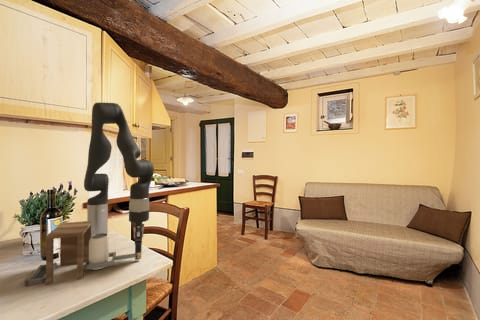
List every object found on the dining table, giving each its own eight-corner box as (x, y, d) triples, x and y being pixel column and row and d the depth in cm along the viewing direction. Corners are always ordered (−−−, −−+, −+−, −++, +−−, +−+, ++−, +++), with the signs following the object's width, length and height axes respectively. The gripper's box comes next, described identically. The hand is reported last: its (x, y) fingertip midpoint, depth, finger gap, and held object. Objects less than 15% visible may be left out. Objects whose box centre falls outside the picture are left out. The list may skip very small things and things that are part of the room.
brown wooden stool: (61, 264, 89) (61, 223, 89) (91, 260, 93) (91, 220, 93) (46, 284, 75) (46, 235, 74) (82, 278, 79) (82, 232, 78)
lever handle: (89, 260, 90) (90, 235, 90) (141, 253, 97) (141, 230, 97) (84, 271, 81) (84, 244, 81) (141, 262, 89) (141, 237, 89)
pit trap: (40, 269, 85) (40, 265, 85) (56, 266, 87) (56, 262, 87) (24, 286, 74) (24, 281, 74) (44, 282, 76) (44, 278, 76)
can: (101, 271, 84) (101, 238, 84) (84, 270, 84) (84, 238, 84) (112, 263, 90) (112, 233, 90) (96, 262, 91) (96, 232, 91)
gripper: (130, 205, 97) (129, 246, 97) (127, 213, 85) (126, 259, 85) (148, 205, 100) (147, 243, 100) (149, 212, 87) (148, 256, 88)
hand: (138, 251), depth 93 cm, fingers closed on lever handle, 2 cm apart
